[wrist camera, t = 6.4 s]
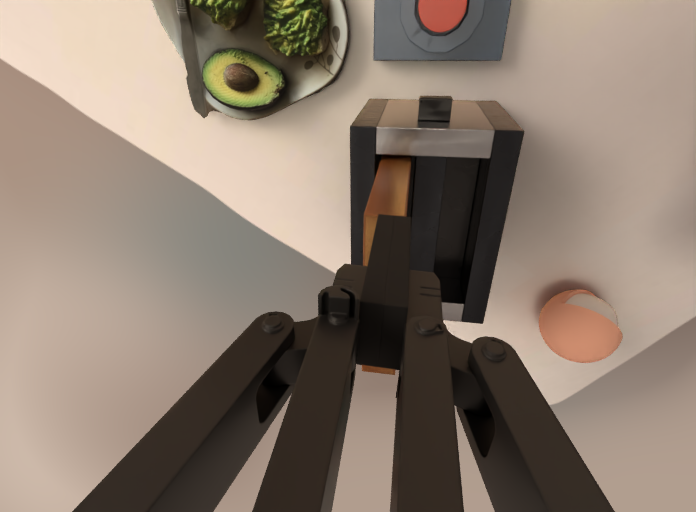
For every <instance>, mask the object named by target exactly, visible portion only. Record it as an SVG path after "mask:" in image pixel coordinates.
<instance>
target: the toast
mask: <svg viewBox="0 0 696 512" xmlns="http://www.w3.org/2000/svg"><path fill="white" fill-rule="evenodd" d="M411 159H412V156H408V155H382V158H381V161H380V164H379V167H378V171H377V174H376V177H375V180H374V184H373V187H372V190H371V193H370V196H369V200H368V203H367V206H366V209H365V212H364V233H363V266H367V265H368V261H369V256H370V251H371V246H372V241H373V237H374V232H375V227H376V222H377V218H378V214H383V215H394V216H405V217H407V206H408V194H409V183H410V171H411ZM362 371H366V372H375V373H383V374H392V375H395V369H388V368H381V367H373V366H366V365H362Z"/></svg>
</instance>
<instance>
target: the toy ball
mask: <svg viewBox="0 0 696 512" xmlns="http://www.w3.org/2000/svg"><path fill="white" fill-rule="evenodd" d="M539 328H540V332H541V335H542V337H543V339H544V341H545V343H546V344H547V345H548V346H549V348H550V349H551V350H552V351H554V352H555V353H556V354H558V355H559V356H561V357H563V358H565V359H567V360H570V361H574V362H580V363H590V362H596V361H599V360H602V359H604V358H606V357H608V356H609V355H611V354H612V353H613V352H614V351H615V350H616V349H617V347H618V346H619V344H620V343H621V341H622V338H623V336H622V332H621V331H620V329H619V328H618V319H617V315H616V312H615V310H614V308H613V307H612V306H611V305H609V304H608V303H607V302H605V301H603V300H602V299H600V298H598V297H596V296H595V295H594V294H593V293H592V292H590V291H587V290H568V291H564V292H561V293H559V294H557V295H555V296H554V297H552V298H551V299H550V300H549V301H548V302H547V303H546V305H545V306H544V307H543V308H542V310H541V313H540V318H539Z"/></svg>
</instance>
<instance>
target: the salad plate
mask: <svg viewBox="0 0 696 512" xmlns="http://www.w3.org/2000/svg"><path fill="white" fill-rule="evenodd" d="M152 4H153V7H154V9H155V11H156V13H157V15H158V17H159V20H160V22H161V24H162V26H163V27H164V29H165V31H166V33H167V34H168V36H169V38H170V39H171V41H172V43H173V44H174V46H175V48H176V50H177V52H178V53H179V55H180V56H181V58H182V59H183V61H184V62H185V65H186V66H185V67H186V69H187V74H188V76H187V78H186V79H187V84H188V89H189V93H190V97H191V101H192V104H193V106H194V109H195V110H196V111H197V112H198V113H199V114H200V115H201V116H202V117H203V118H205V117H206V116H208V113H209V112H210V111H213V110H214V111H218V112H221V113H223V114H225V115H227V116H230V117H232V118H236V119H242V120H255V119H259V118H263V117H266V116H269V115H271V114H273V113H275V112H277V111H279V110H281V109H283V108H285V107H287V106H289V105H291V104H293V103H295V102H297V101H299V100H301V99H303V98H305V97H308V96H311V95H313V94H315V93H318V92H320V91H321V90H322V89H323V88H325V87H327V86H328V85H330V84H332V83H333V82H334V81H335V80H336V79H337V77H338V75H339V73H340V71H341V69H342V66H343V63H344V60H345V57H346V53H347V49H348V40H349V24H348V18H347V11H346V7H345V4H344V0H152Z"/></svg>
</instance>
